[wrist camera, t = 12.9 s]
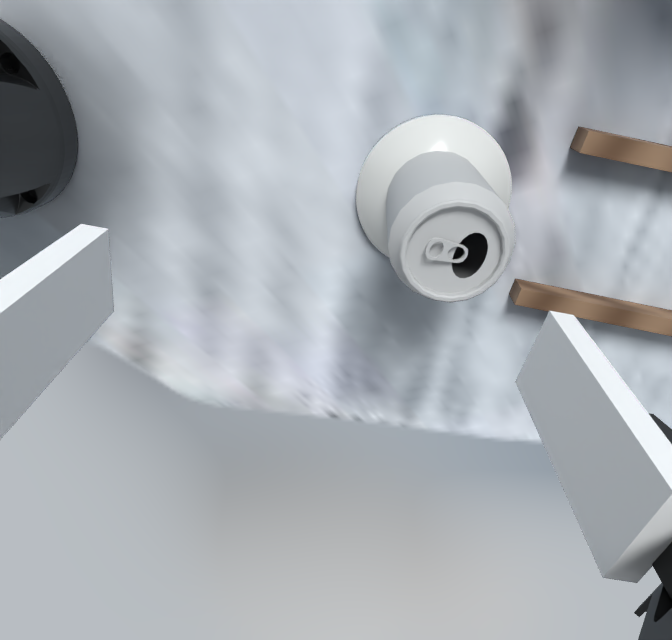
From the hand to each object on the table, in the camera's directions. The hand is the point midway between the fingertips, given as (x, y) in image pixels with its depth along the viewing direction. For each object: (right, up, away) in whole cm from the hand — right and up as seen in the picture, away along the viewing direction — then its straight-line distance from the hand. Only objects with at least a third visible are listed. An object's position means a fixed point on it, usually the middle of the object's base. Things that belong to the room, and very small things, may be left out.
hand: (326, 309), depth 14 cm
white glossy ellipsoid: (+8, +10, +24) cm, 27 cm away
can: (+8, +9, +23) cm, 26 cm away
